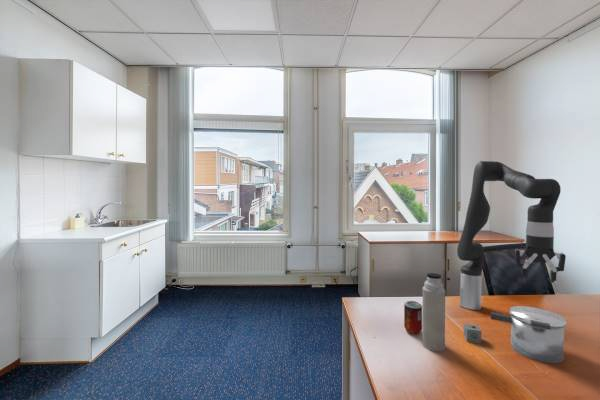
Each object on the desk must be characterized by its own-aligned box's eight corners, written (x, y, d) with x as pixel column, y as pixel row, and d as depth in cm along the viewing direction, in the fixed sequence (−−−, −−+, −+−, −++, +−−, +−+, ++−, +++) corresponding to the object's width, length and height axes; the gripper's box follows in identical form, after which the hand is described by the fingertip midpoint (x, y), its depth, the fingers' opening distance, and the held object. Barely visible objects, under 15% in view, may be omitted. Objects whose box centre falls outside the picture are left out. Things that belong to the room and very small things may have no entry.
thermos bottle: (421, 338, 114) (421, 270, 113) (443, 341, 111) (443, 272, 110) (423, 349, 106) (423, 276, 105) (446, 353, 104) (447, 278, 103)
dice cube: (481, 343, 110) (481, 330, 110) (467, 341, 112) (467, 329, 111) (477, 337, 115) (477, 325, 115) (463, 335, 116) (463, 323, 116)
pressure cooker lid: (511, 322, 100) (511, 318, 100) (508, 306, 115) (508, 303, 115) (572, 335, 91) (572, 330, 91) (560, 316, 106) (561, 312, 106)
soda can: (424, 330, 120) (424, 302, 120) (418, 337, 115) (418, 308, 114) (407, 325, 125) (407, 298, 124) (401, 332, 119) (401, 303, 119)
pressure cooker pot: (490, 348, 106) (491, 317, 106) (490, 330, 120) (490, 302, 120) (567, 368, 94) (568, 333, 94) (557, 345, 108) (558, 315, 108)
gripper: (515, 234, 102) (514, 279, 102) (569, 237, 93) (568, 286, 94) (513, 231, 108) (513, 274, 108) (564, 234, 100) (563, 280, 100)
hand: (538, 279), depth 101 cm, fingers open, 6 cm apart
